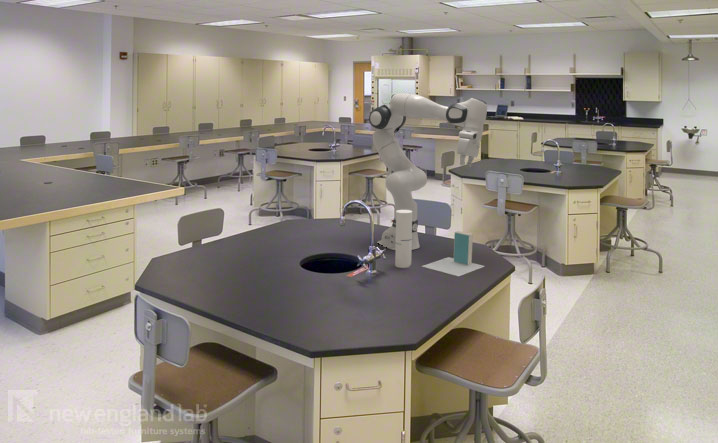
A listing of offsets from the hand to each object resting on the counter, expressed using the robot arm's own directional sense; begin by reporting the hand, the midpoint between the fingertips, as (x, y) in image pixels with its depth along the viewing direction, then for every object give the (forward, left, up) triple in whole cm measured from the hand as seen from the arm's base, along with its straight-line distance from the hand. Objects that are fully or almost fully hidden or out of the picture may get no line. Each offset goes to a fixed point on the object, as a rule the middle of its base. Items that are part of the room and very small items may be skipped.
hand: (465, 165), depth 253 cm
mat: (+5, -13, -44) cm, 46 cm away
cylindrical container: (-13, -26, -44) cm, 53 cm away
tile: (+5, -6, -43) cm, 44 cm away
